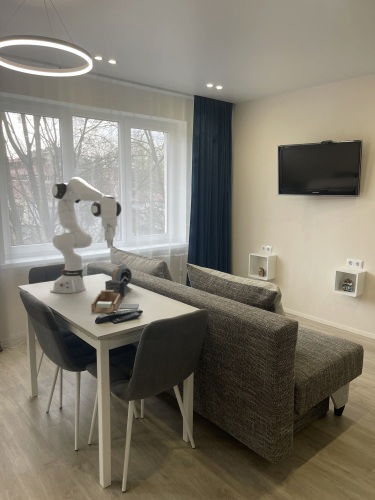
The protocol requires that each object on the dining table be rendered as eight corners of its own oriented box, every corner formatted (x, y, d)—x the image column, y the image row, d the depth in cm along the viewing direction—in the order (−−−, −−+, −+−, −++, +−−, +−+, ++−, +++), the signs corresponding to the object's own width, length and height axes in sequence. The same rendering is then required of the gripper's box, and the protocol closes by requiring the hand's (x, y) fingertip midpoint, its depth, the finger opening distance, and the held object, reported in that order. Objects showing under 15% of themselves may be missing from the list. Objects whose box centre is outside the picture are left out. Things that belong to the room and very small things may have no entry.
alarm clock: (118, 293, 240) (118, 267, 238) (108, 291, 246) (108, 265, 244) (134, 289, 252) (134, 264, 249) (124, 287, 258) (124, 262, 255)
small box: (125, 296, 233) (125, 280, 232) (120, 299, 227) (119, 283, 226) (110, 295, 237) (110, 279, 235) (105, 297, 231) (104, 281, 229)
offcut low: (96, 312, 204) (95, 308, 204) (97, 310, 208) (97, 305, 208) (112, 312, 205) (112, 308, 204) (113, 310, 208) (113, 305, 208)
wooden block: (101, 306, 214) (100, 291, 212) (101, 304, 217) (101, 289, 215) (113, 306, 214) (112, 291, 213) (113, 304, 217) (113, 290, 215)
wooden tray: (91, 312, 202) (91, 303, 201) (98, 301, 223) (98, 293, 222) (115, 312, 203) (115, 303, 202) (120, 301, 223) (120, 293, 223)
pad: (119, 308, 210) (119, 308, 210) (121, 304, 218) (121, 303, 218) (137, 308, 210) (137, 308, 210) (138, 304, 218) (138, 303, 218)
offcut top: (96, 307, 204) (96, 303, 204) (98, 305, 208) (98, 301, 208) (110, 308, 204) (110, 303, 203) (112, 306, 208) (112, 301, 207)
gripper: (112, 224, 205) (113, 248, 207) (116, 222, 225) (117, 244, 227) (101, 224, 205) (102, 249, 207) (106, 222, 225) (107, 244, 227)
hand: (110, 246), depth 217 cm, fingers open, 8 cm apart
